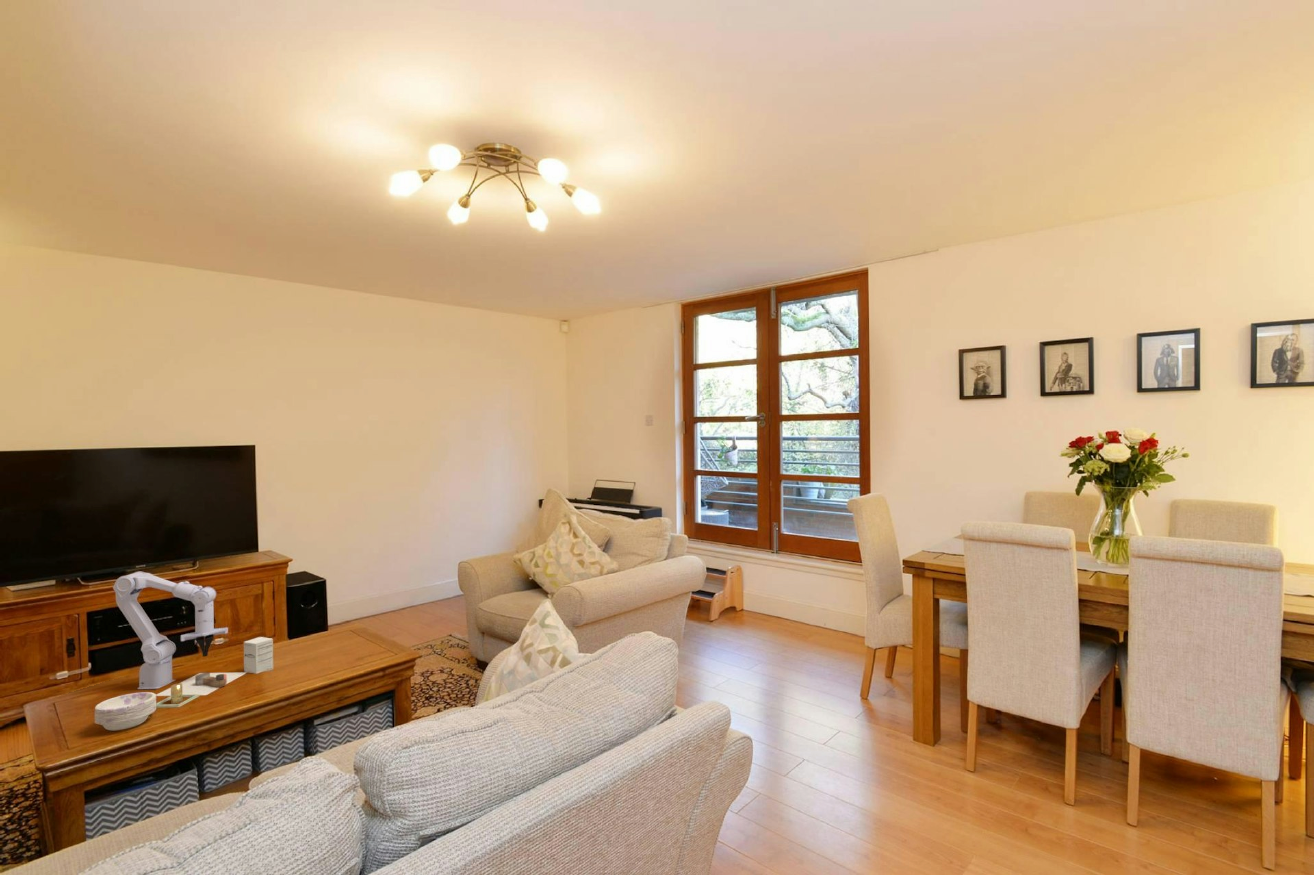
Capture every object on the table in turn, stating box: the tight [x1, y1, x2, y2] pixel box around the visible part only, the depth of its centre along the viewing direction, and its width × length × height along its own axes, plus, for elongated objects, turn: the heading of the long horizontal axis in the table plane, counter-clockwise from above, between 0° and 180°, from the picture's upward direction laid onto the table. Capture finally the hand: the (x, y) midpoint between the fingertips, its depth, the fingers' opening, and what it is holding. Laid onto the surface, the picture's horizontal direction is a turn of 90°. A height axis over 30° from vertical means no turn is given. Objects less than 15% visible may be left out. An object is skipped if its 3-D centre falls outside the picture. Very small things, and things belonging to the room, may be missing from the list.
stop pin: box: [170, 682, 184, 705], centre depth 217 cm, size 3×3×6 cm
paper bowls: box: [94, 691, 157, 732], centre depth 201 cm, size 15×15×8 cm
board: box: [156, 671, 248, 697], centre depth 233 cm, size 19×22×1 cm
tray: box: [156, 694, 200, 709], centre depth 217 cm, size 9×9×2 cm
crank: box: [194, 672, 227, 688], centre depth 232 cm, size 13×4×4 cm, turn 69°
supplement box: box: [243, 636, 274, 675], centre depth 247 cm, size 7×7×13 cm
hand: (205, 655), depth 237 cm, fingers closed
